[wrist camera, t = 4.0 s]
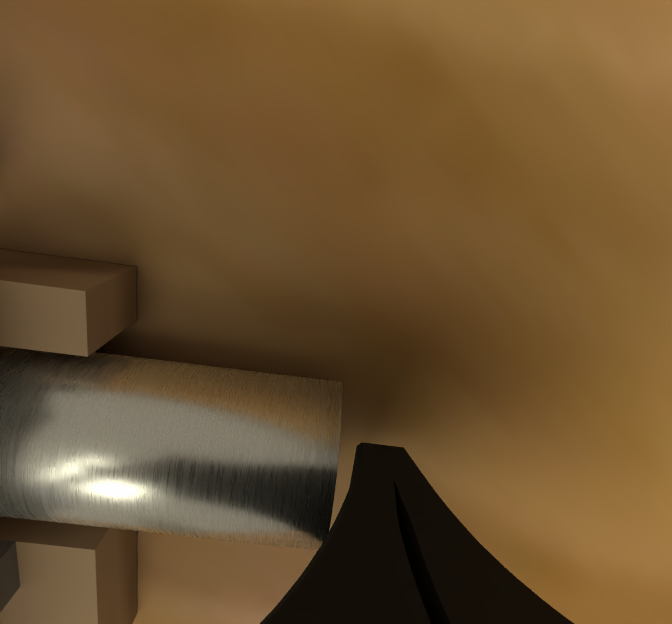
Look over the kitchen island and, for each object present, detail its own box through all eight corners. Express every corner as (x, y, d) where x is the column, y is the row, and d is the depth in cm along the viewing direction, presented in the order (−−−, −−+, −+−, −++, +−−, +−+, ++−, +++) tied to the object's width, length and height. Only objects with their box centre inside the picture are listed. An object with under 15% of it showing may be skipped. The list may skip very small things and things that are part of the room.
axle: (339, 365, 13) (345, 411, 9) (323, 495, 14) (320, 592, 10) (-82, 314, 13) (-268, 339, 9) (-86, 449, 13) (-264, 531, 9)
